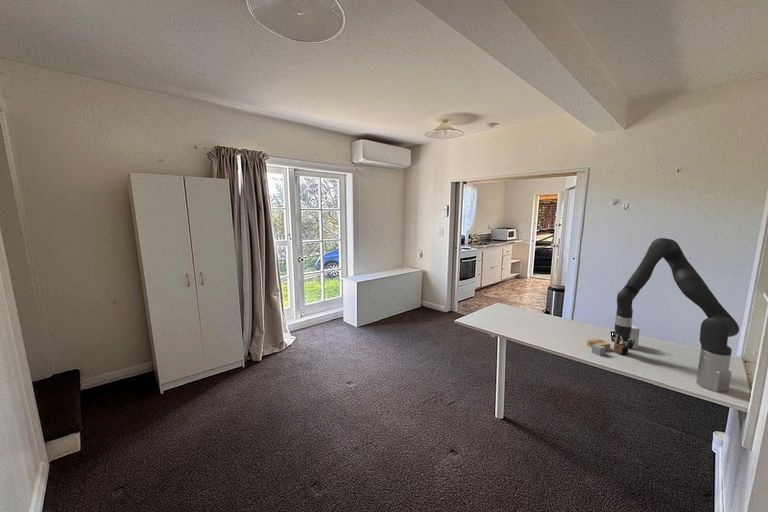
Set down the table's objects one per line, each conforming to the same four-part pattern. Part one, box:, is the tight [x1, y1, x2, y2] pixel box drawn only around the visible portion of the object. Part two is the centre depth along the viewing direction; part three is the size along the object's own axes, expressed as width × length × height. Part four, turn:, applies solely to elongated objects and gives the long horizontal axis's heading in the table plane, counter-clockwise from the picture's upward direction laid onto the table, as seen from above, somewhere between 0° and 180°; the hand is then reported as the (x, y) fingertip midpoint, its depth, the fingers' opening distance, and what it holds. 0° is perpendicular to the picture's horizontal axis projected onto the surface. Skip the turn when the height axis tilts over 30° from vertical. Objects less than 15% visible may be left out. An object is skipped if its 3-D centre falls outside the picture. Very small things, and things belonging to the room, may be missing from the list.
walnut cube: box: [613, 344, 629, 356], centre depth 170 cm, size 4×4×4 cm
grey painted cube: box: [591, 344, 606, 357], centre depth 170 cm, size 4×4×4 cm
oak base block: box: [586, 338, 611, 351], centre depth 178 cm, size 8×8×4 cm
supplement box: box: [619, 324, 640, 350], centre depth 179 cm, size 7×7×13 cm
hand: (620, 351), depth 170 cm, fingers closed on walnut cube, 4 cm apart
